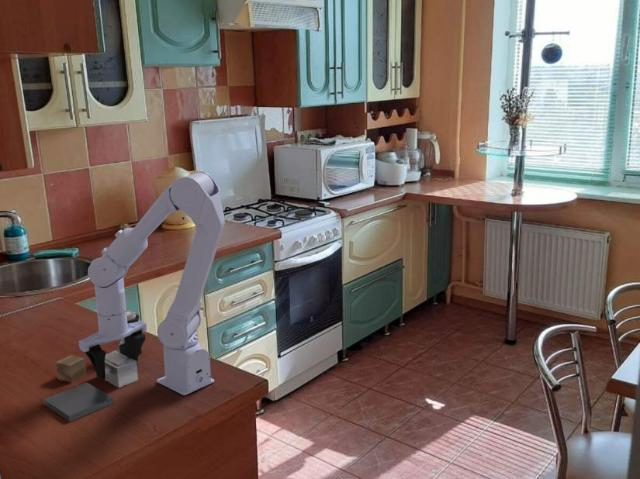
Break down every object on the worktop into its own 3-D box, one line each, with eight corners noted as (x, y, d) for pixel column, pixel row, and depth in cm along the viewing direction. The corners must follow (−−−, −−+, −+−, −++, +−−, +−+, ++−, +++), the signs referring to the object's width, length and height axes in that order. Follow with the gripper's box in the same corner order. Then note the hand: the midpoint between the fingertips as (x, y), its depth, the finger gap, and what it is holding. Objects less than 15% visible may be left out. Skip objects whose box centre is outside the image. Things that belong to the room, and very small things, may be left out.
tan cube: (86, 375, 130) (84, 358, 129) (71, 383, 127) (69, 365, 126) (72, 371, 132) (70, 354, 131) (58, 379, 128) (56, 362, 127)
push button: (115, 362, 136) (111, 320, 134) (109, 353, 141) (106, 313, 138) (145, 355, 140) (141, 314, 138) (138, 347, 144) (135, 307, 142)
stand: (113, 403, 118) (113, 397, 118) (69, 421, 112) (69, 416, 111) (87, 387, 125) (86, 382, 124) (44, 404, 118) (43, 398, 118)
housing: (138, 380, 128) (136, 359, 127) (119, 388, 125) (117, 367, 123) (117, 370, 133) (115, 349, 132) (98, 377, 130) (96, 356, 128)
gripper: (131, 298, 133) (136, 355, 136) (68, 316, 122) (75, 378, 126) (150, 305, 129) (154, 364, 132) (86, 325, 118) (93, 388, 121)
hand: (117, 371), depth 128 cm, fingers open, 7 cm apart
